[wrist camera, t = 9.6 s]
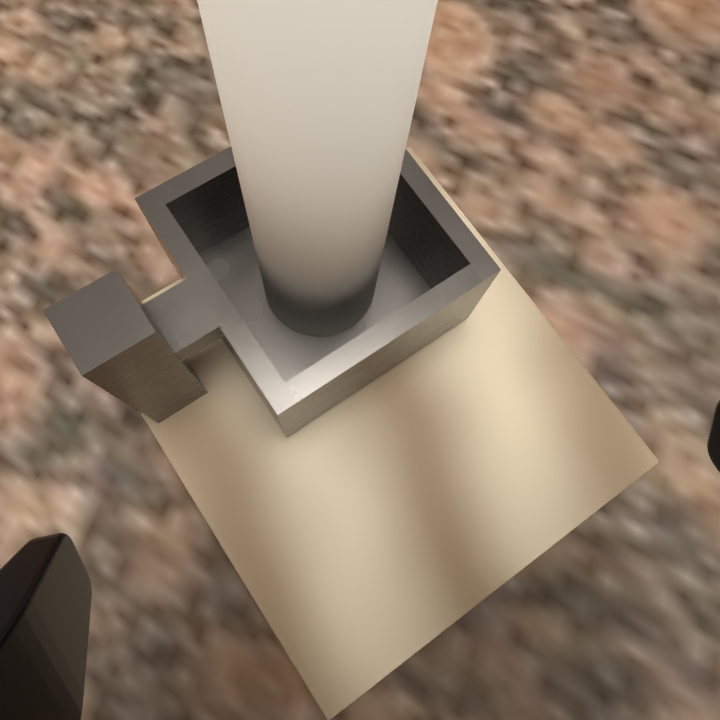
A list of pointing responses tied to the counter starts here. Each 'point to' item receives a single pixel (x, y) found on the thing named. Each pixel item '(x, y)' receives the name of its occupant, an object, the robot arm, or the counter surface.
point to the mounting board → (402, 485)
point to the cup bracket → (250, 306)
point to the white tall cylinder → (318, 140)
